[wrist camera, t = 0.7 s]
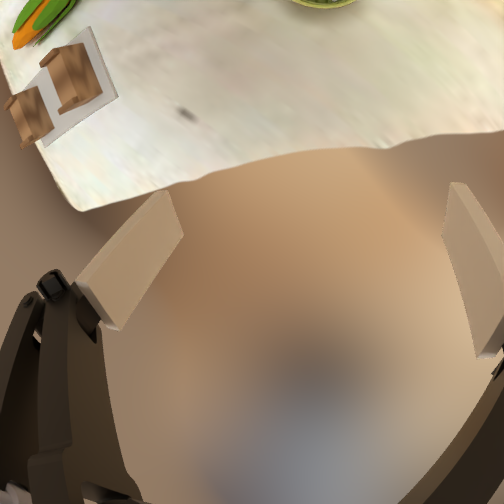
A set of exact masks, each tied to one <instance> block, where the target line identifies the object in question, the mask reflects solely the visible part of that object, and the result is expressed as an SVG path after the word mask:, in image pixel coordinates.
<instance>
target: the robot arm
mask: <svg viewBox="0 0 504 504" xmlns="http://www.w3.org/2000/svg"><path fill="white" fill-rule="evenodd" d="M183 236H184V234H183V231H182V228H181V226H180V223H179V220H178V218H177V215H176V212H175V209H174V207H173V204H172V201H171V198H170V195H169V193H168V191H167V190H166V191H156V192H155V193H154V194H153V195H152V196H151V197H150V198H149V199H148V200H147V201H146V202H145V203H144V204H143V205H142V206H141V207H140V208H139V209H138V210H137V211H136V212H135V213H134V214H133V215H132V216H131V217H130V218H129V219H128V220H127V221H126V222H125V223H124V224H123V226H122V227H121V228H120V229H119V230H118V231H117V232H116V233H115V234H114V236H112V238H111V239H110V240H109V241H108V242H107V243H106V244H105V245H104V247H103V248H102V249H101V250H100V251H99V252H98V253H97V255H96V256H95V257H94V258H93V259H92V260H91V261H90V263H89V264H88V265H87V266H86V267H85V269H84V270H83V271H82V272H81V273H80V275H79V276H78V277H77V278H76V280H75V281H74V282H73V283H72V285H71V286H70V285H69V284H68V282H67V281H66V279H65V277H64V276H63V274H62V273H61V271H60V270H58V269H54V270H51V271H49V272H48V273H46V274H45V275H44V276H43V277H42V278H41V279H40V280H39V281H38V283H37V285H36V286H37V288H38V290H39V291H40V292H41V294H42V295H43V297H44V298H45V299H42V298H41V296H40V295H39V293H38V292H36V291H33V292H31V293H28V294H27V295H25V296H24V298H23V299H22V300H21V302H20V304H19V306H18V308H17V310H16V312H15V315H14V317H13V319H12V322H11V324H10V326H9V329H8V332H7V334H6V336H5V339H4V342H3V344H2V347H1V350H0V504H84V500H83V498H85V499H88V500H91V501H94V502H96V503H98V504H151V503H147V502H143V499H142V496H141V493H140V491H139V488H138V486H137V484H136V483H135V481H134V480H133V479H132V478H131V477H130V476H129V474H128V473H127V471H126V469H125V466H124V462H123V458H122V455H121V451H120V447H119V442H118V438H117V433H116V429H115V424H114V419H113V414H112V408H111V404H110V397H109V392H108V384H107V378H106V370H105V362H104V354H103V344H102V333H101V328H100V327H99V325H98V323H99V321H100V320H102V321H103V322H104V324H105V325H106V326H107V328H109V329H113V330H117V331H121V330H122V328H123V327H124V325H125V323H126V322H127V320H128V319H129V317H130V315H131V314H132V312H133V311H134V309H135V307H136V306H137V304H138V303H139V301H140V300H141V298H142V297H143V295H144V293H145V292H146V290H147V289H148V287H149V286H150V284H151V282H152V281H153V280H154V278H155V277H156V275H157V274H158V272H159V271H160V269H161V268H162V266H163V265H164V263H165V262H166V260H167V259H168V257H169V256H170V254H171V253H172V251H173V250H174V248H175V247H176V246H177V244H178V243H179V241H180V240H181V238H182V237H183ZM442 238H443V241H444V244H445V246H446V249H447V251H448V255H449V257H450V260H451V263H452V266H453V269H454V272H455V275H456V278H457V282H458V285H459V288H460V291H461V295H462V298H463V301H464V306H465V309H466V313H467V317H468V321H469V325H470V330H471V334H472V339H473V343H474V348H475V354H476V358H477V359H484V358H493V357H495V356H496V355H497V353H498V352H499V350H500V349H501V347H502V348H503V352H504V244H503V242H502V240H501V238H500V237H499V235H498V233H497V231H496V230H495V228H494V226H493V225H492V223H491V221H490V220H489V218H488V216H487V215H486V213H485V212H484V210H483V209H482V207H481V206H480V204H479V202H478V201H477V200H476V198H475V197H474V195H473V194H472V192H471V191H470V189H469V188H468V187H467V185H466V184H465V183H452V182H451V183H450V189H449V195H448V202H447V208H446V215H445V220H444V226H443V231H442ZM34 330H35V331H36V332H37V333H38V335H39V336H40V337H41V343H39V342H38V341H37V340H36V339H35V337H34V336H33V333H34ZM491 374H492V375H493V377H492V379H491V381H490V383H489V385H488V386H487V388H486V390H485V392H484V393H483V395H482V397H481V398H480V400H479V402H478V403H477V405H476V407H475V408H474V410H473V412H472V413H471V415H470V416H469V418H468V419H467V421H466V422H465V424H464V425H463V427H462V428H461V430H460V431H459V432H458V434H457V435H456V437H455V438H454V439H453V441H452V442H451V443H450V445H449V446H448V448H447V449H446V450H445V451H444V453H443V454H442V455H441V456H440V458H439V459H438V460H437V461H436V463H435V464H434V465H433V466H432V467H431V469H430V470H429V471H428V472H427V473H426V474H425V475H424V477H423V478H422V479H421V480H420V481H419V482H418V483H417V484H416V486H415V487H414V488H413V489H412V490H411V491H410V492H409V493H408V494H407V495H406V496H405V497H404V498H403V499H402V500H401V501H400V502H399V503H398V504H487V503H488V501H489V500H490V499H491V497H492V496H493V494H494V493H495V491H496V490H497V488H498V487H499V485H500V484H501V482H502V480H503V479H504V358H503V359H502V360H501V362H500V363H499V364H498V366H497V367H496V368H495V370H494V371H493V372H492V373H491Z"/></svg>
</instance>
